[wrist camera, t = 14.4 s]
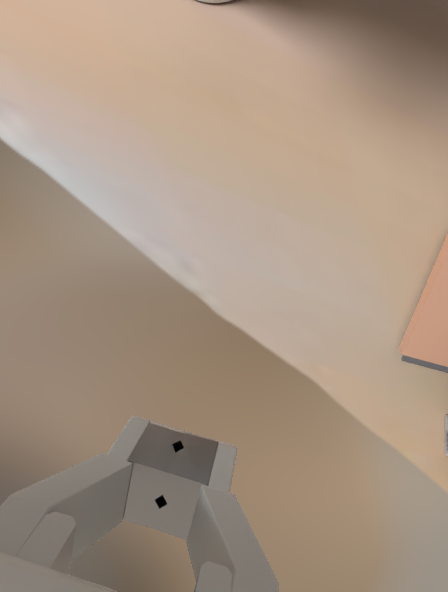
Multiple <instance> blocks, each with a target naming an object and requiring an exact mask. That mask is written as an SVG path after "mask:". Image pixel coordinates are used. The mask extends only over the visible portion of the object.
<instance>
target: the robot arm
mask: <svg viewBox="0 0 448 592" xmlns="http://www.w3.org/2000/svg"><path fill="white" fill-rule="evenodd" d="M198 1H202V2H208V3H221V2H227V1H231V0H198ZM236 453H237V446H235V445H232V444H228V443H224V442H221V441H220V442H219V443H218V441H215V440H212V439H209V438H205V437H202V436H198V435H195V434H192V433H188V432H185V431H182V430H179V429H175V428H173V427H170V426H166V425H163V424H160V423H157V422H154V421H150V420H147V419H144V418H141V417H138V416H133V417H131V418H130V420H129V421H128V423H127V424H126V426H125V427H124V429H123V430H122V432H121V433H120V435H119V436H118V438H117V439H116V441H115V443H114V444H113V446H112V447H111V449H110V450H109V452H108V453H107V455H106V454H102V453H101V454H98V455H97V456H94V457H92V458H90V459H88V460H85V461H83V462H81V463H79V464H77V465H75V466H72V467H70V468H68V469H66V470H63V471H61V472H59V473H57V474H55V475H53V476H50V477H48V478H46V479H44V480H42V481H40V482H37V483H35V484H33V485H31V486H29V487H26V488H24V489H22V490H20V491H18V492H16V493H13V494H11V495H10V496H9V497H8V498H7V500H6V501H5V502H4V503H3V504H2V505H1V506H0V592H119V591H116V590H113V589H110V588H107V587H104V586H101V585H98V584H95V583H92V582H89V581H86V580H83V579H80V578H77V577H74V576H71V575H69V573H70V566H71V561H72V560H74V559H75V558H76V557H77V556H78V555H80V554H81V553H82V552H84V551H85V550H86V549H88V548H89V547H90V546H92V545H93V544H94V543H95V542H97V541H98V540H99V539H101V538H102V537H103V536H104V535H106V534H107V533H108V532H110V531H111V530H112V529H113V528H115V527H116V526H117V525H119V524H120V523H121V522H122V520H126V521H129V522H133V523H136V524H140V525H143V526H146V527H150V528H154V529H156V530H159V531H162V532H165V533H168V534H170V535H173V536H176V537H179V538H182V539H185V540H187V542H186V543H187V547H188V551H189V555H190V559H191V563H192V567H193V571H194V575H195V579H196V586H195V589H194V592H278V591H279V582H278V580H277V578H276V576H275V574H274V572H273V570H272V568H271V566H270V564H269V562H268V560H267V558H266V556H265V554H264V552H263V550H262V548H261V546H260V544H259V542H258V540H257V538H256V536H255V534H254V532H253V530H252V528H251V526H250V524H249V522H248V520H247V518H246V516H245V514H244V512H243V510H242V508H241V506H240V504H239V502H238V500H237V497H236V496H235V494H232V493H230V487H231V482H232V476H233V470H234V465H235V459H236Z"/></svg>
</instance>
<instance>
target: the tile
mask: <svg viewBox="0 0 448 592" xmlns="http://www.w3.org/2000/svg"><path fill="white" fill-rule="evenodd" d="M399 350H400V351H401V353H402V354H403V355H405V356H409V357H412V358H416V359H420V360H424V361H427V362H431V363H435V364H438V365H442V366H446V367H448V233H447V236H446V238H445V240H444V243H443V245H442V248H441V250H440V252H439V255H438V257H437V259H436V262H435V264H434V266H433V269H432V271H431V273H430V276H429V278H428V281H427V283H426V285H425V288H424V290H423V292H422V295H421V297H420V299H419V302H418V304H417V306H416V309H415V311H414V314H413V316H412V318H411V321H410V323H409V325H408V328H407V330H406V332H405V335H404V337H403V339H402V342H401V344H400V347H399Z"/></svg>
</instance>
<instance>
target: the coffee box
mask: <svg viewBox="0 0 448 592" xmlns="http://www.w3.org/2000/svg"><path fill="white" fill-rule="evenodd" d="M444 452H445V454H446V455H447V457H448V415H445V446H444Z"/></svg>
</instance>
